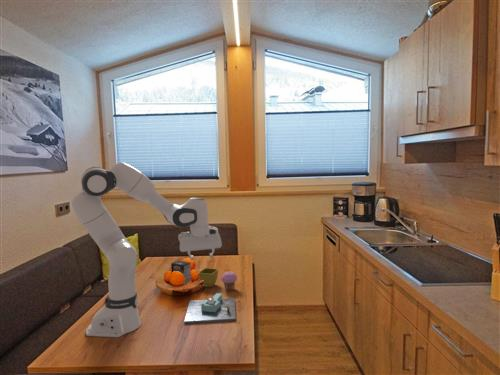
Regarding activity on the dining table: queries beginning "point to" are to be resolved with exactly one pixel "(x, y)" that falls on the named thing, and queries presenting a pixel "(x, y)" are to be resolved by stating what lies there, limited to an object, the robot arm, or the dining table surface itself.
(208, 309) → the flange
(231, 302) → the base plate
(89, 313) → the dining table surface
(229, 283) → the cupcake
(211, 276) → the flower pot
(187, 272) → the coffee box
